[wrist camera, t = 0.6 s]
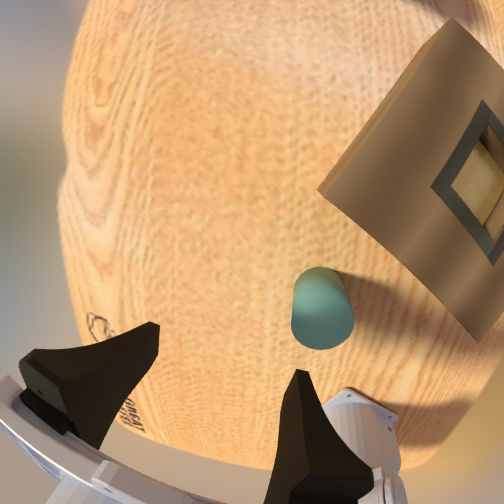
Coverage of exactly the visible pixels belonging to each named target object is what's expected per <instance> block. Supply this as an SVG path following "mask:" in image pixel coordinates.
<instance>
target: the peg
mask: <svg viewBox="0 0 504 504" xmlns="http://www.w3.org/2000/svg"><path fill="white" fill-rule="evenodd" d="M353 327H354V315H353V311H352V308H351V305H350V302H349V299H348V296H347V293H346V290H345V287H344V284H343V281H342V279H341V277H340V276H339V275H338V274H337V273H336V272H335V271H333V270H331V269H329V268H325V267H315V268H311V269H309V270H307V271H305V272H304V273H302V274H301V275H300V276H299V278H298V279H297V281H296V283H295V286H294V295H293V308H292V320H291V328H292V332H293V335H294V336H295V338H296V339H297V340H298V341H299V342H300V343H301V344H302V345H304V346H306V347H308V348H311V349H317V350H325V349H330V348H333V347H336V346H338V345H339V344H341V343H342V342H344V341H345V340H346V339H347V338H348V337H349V335H350V334H351V332H352V330H353Z"/></svg>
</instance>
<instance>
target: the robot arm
mask: <svg viewBox="0 0 504 504" xmlns="http://www.w3.org/2000/svg"><path fill="white" fill-rule="evenodd" d="M159 332H160V325H158V324H155V323H153V322H150V321H149V322H147V323H145V324H143V325H141V326H139V327H136V328H134V329H132V330H130V331H128V332H125V333H123V334H121V335H118V336H116V337H113V338H110V339H108V340H105V341H102V342H99V343H95V344H91V345H87V346H82V347H76V348H70V349H56V350H55V349H54V350H53V349H34V350H32V351H31V352H30V353H29V354H27V355H26V356H25V357H24V358H23V359H21V360H20V361H19V368H20V372H21V374H22V376H23V379H24V381H25V384H26V386H27V388H26V389H25V390H23V389H22V388H21V386H20V385H19V384H18V383H17V382H16V381H14V379H12V378H11V377H10V376H9V375H6V376H5V377H4V378H3V379H2V380H1V381H0V428H1V429H2V430H3V432H4V433H5V434H6V435H7V436H8V437H9V438H10V439H11V440H12V441H13V442H14V443H15V444H16V445H17V446H18V447H19V448H21V450H22V451H23V452H24V453H25V454H26V455H27V456H29V457H30V458H31V459H32V460H33V461H34V462H35V463H36V464H38V466H40V467H41V468H42V469H43V470H44V471H45V472H47V473H48V474H49V475H50V476H51V477H53V478H54V479H55V480H57V481H58V482H59V483H60V484H59V485H58V487H57V488H56V489H55V491H54V492H53V494H52V495H51V496H50V498H49V499H48V501H47V502H46V503H45V504H227V503H223V502H219V501H216V500H212V499H209V498H205V497H202V496H199V495H196V494H192V493H190V492H186V491H183V490H181V489H178V488H176V487H172V486H170V485H168V484H165V483H163V482H160V481H158V480H155V479H153V478H151V477H148V476H146V475H144V474H142V473H140V472H138V471H136V470H134V469H132V468H129V467H128V466H126V465H124V464H122V463H120V462H118V461H116V460H114V459H112V458H111V457H108V456H107V455H105V454H103V453H102V452H100V451H99V449H100V446H101V444H102V442H103V440H104V437H105V436H106V434H107V431H108V430H109V428H110V426H111V424H112V422H113V420H114V418H115V417H116V415H117V413H118V411H119V410H120V408H121V406H122V405H123V403H124V401H125V400H126V398H127V397H128V396H129V394H130V393H131V392H132V390H133V389H134V388H135V387H136V385H137V384H138V383H139V382H140V380H141V379H142V378H143V377H144V375H145V374H146V373H147V372H148V370H149V369H150V367H151V366H152V364H153V362H154V361H155V359H156V357H157V355H158V349H159ZM349 394H350V395H349ZM398 419H399V416H398V415H397V414H395V413H393V412H391V411H389V410H387V409H385V408H383V407H382V406H380V405H378V404H376V403H374V402H372V401H371V400H369V399H367V398H365V397H363V396H362V395H360V394H358V393H356V392H354V391H353V390H351V389H349V388H345V389H343V390H342V391H340V392H339V393H338V394H336V395H335V396H334V397H332V398H331V399H330V400H328V401H327V402H326V403H324V404H323V405H321V403H320V401H319V399H318V396H317V394H316V391H315V389H314V386H313V383H312V381H311V378H310V375H309V372H308V371H303V370H299V369H296V371H295V373H294V375H293V377H292V379H291V381H290V383H289V386H288V388H287V390H286V392H285V394H284V397H283V402H282V406H281V411H280V423H279V436H278V447H277V454H276V458H275V463H274V467H273V471H272V475H271V479H270V483H269V487H268V490H267V494H266V497H265V501H264V503H263V504H408V502H407V497H406V492H405V488H404V485H403V482H402V479H401V477H400V476H398V473H399V470H400V466H401V457H400V452H399V447H398V442H397V438H396V434H395V429H394V425H393V423H394V422H396V421H397V420H398Z"/></svg>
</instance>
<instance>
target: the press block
mask: <svg viewBox="0 0 504 504" xmlns="http://www.w3.org/2000/svg"><path fill="white" fill-rule="evenodd" d="M478 139H479V141H480V142H481V143H482V144H483V146H484V147H485V148H486V150H487V151H488V152H489V154H490V155H491V156H492V158H493V159H494V160H495V162H496V163H497V165H498V166H499V168H500V169H501V171H502V172H503V174H504V70H503V69H502V67H501V66H500V65H499V64H498V63H497V62H496V60H495V59H494V58H493V57H492V56H491V55H490V54H489V53H488V52H487V50H486V49H485V48H484V47H483V46H482V45H481V44H480V43H479V42H478V41H477V40H476V39H475V38H474V37H473V36H472V35H471V34H470V33H469V32H468V31H467V30H466V29H465V28H463V27H462V26H461V25H460V24H459V23H458V22H457V21H456V20H454V19H453V18H451V19H450V20H448V21H447V22H446V23H445V24H444V25H443V26H442V27H441V28H440V29H439V30H438V31H437V32H436V33H435V34H434V35H433V36H432V37H431V38H430V39H429V40H428V41H427V42H426V43H425V44H424V45H423V46H422V47H421V48H420V50H419V51H418V53H417V54H416V55H415V57H414V58H413V60H412V61H411V62H410V64H409V65H408V67H407V68H406V69H405V71H404V72H403V74H402V75H401V76H400V78H399V79H398V81H397V82H396V83H395V85H394V86H393V87H392V89H391V90H390V92H389V93H388V94H387V96H386V97H385V98H384V100H383V101H382V103H381V104H380V105H379V107H378V108H377V109H376V111H375V112H374V114H373V115H372V116H371V118H370V119H369V120H368V122H367V123H366V124H365V126H364V127H363V129H362V130H361V131H360V133H359V134H358V135H357V137H356V138H355V139H354V141H353V142H352V143H351V145H350V146H349V147H348V149H347V150H346V151H345V153H344V154H343V155H342V157H341V158H340V159H339V161H338V162H337V164H336V165H335V166H334V168H333V169H332V170H331V172H330V173H329V174H328V176H327V177H326V178H325V179H324V181H323V182H322V183H321V185H320V186H319V187H318V189H317V190H318V191H319V192H320V193H321V195H322V196H323V197H324V198H326V199H327V200H328V201H329V202H331V203H332V204H333V205H335V206H336V207H337V208H338V209H340V210H341V211H342V212H343V213H344V214H346V215H347V216H348V217H349V218H351V219H352V220H353V221H354V222H355V223H357V224H358V225H359V226H360V227H361V228H362V229H364V230H365V231H366V232H367V233H368V234H369V235H371V236H372V237H373V238H374V239H375V240H376V241H377V242H379V243H380V244H381V245H382V246H383V247H384V248H385V249H386V250H388V251H389V252H390V253H391V254H392V255H393V256H394V257H395V258H396V259H397V260H399V261H400V262H401V263H402V264H403V265H404V266H405V267H406V268H407V269H408V270H409V271H410V272H411V273H412V274H413V275H414V276H415V277H416V278H417V279H418V280H419V281H421V282H422V283H423V284H424V285H425V286H426V287H427V288H428V289H429V290H430V291H431V292H432V294H433V295H434V296H435V297H436V298H437V299H438V300H439V301H440V302H441V303H442V304H443V305H444V306H445V307H446V308H447V309H448V310H449V311H450V312H451V313H452V315H453V316H454V317H455V318H456V319H457V320H458V321H459V322H460V323H461V324H462V326H463V327H464V328H465V329H466V330H467V331H468V332H469V334H470V335H471V336H472V337H473V338H474V339H475V340H476V342H477V343H478V342H479V341H480V340H481V339H482V338H483V337H484V335H485V334H486V333H487V332H488V331H489V330H490V328H491V327H492V326H493V325H494V323H495V322H496V321H497V320H498V318H499V317H500V316H501V314H502V313H503V312H504V190H503V192H502V194H501V195H500V197H499V199H498V201H497V203H496V204H495V206H494V208H493V210H492V211H491V213H490V215H489V216H488V218H487V220H486V221H485V223H484V224H483V226H482V225H481V223H480V222H479V221H478V219H477V218H476V216H475V215H474V214H473V212H472V211H471V210H470V209H469V207H468V206H467V205H466V203H465V202H464V201H463V200H462V198H461V197H460V196H459V195H458V194H457V192H456V191H455V190H454V189H453V188H452V187H451V185H452V183H453V182H454V180H455V179H456V177H457V176H458V174H459V172H460V171H461V169H462V167H463V166H464V164H465V162H466V161H467V159H468V157H469V156H470V154H471V152H472V150H473V149H474V147H475V145H476V143H477V141H478Z"/></svg>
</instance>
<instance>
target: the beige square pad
mask: <svg viewBox="0 0 504 504" xmlns="http://www.w3.org/2000/svg"><path fill="white" fill-rule="evenodd" d="M451 187H452V188H453V189H454V190H455V191H456V192H457V194H458V195H459V196H460V197H461V198H462V200H463V201H464V202H465V203H466V205H467V206H468V207H469V209H470V210H471V211H472V212H473V214H474V215H475V216H476V218H477V219H478V221H479V222H480V223H481V225H482V226H483V224H484V223H485V221H486V220H487V218H488V216H489V215H490V213H491V211H492V210H493V208H494V206H495V204H496V203H497V201H498V199H499V197H500V195H501V194H502V192H503V190H504V174H503V172H502V171H501V169H500V168H499V166H498V165H497V163H496V162H495V160H494V159H493V158H492V156H491V155H490V154H489V152H488V151H487V150H486V148H485V147H484V146H483V144H482V143H481V142H480V141H479V139H478V141H477V143H476V145H475V147H474V149H473V150H472V152H471V154H470V156H469V157H468V159H467V161H466V162H465V164H464V166H463V167H462V169H461V171H460V172H459V174H458V176H457V177H456V179H455V180H454V182H453V183H452V185H451Z"/></svg>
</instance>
